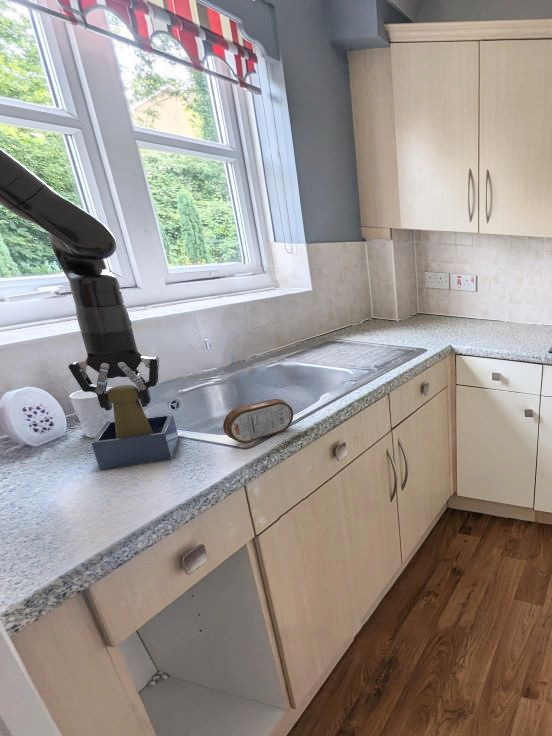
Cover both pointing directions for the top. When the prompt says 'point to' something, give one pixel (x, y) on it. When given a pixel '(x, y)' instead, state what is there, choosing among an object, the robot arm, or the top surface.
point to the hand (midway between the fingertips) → (127, 407)
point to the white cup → (91, 412)
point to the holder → (136, 444)
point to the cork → (128, 412)
